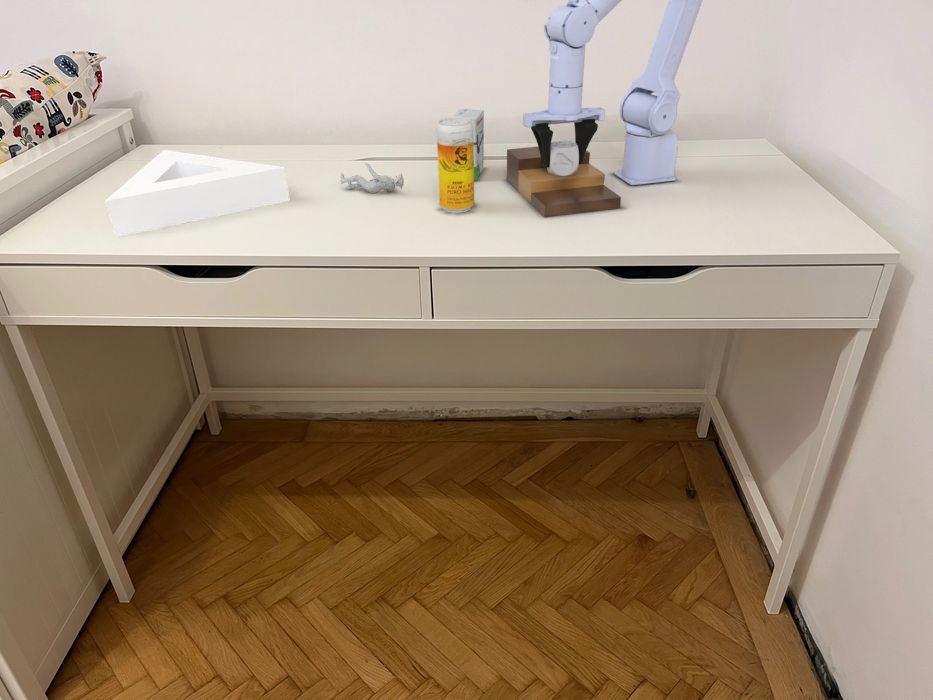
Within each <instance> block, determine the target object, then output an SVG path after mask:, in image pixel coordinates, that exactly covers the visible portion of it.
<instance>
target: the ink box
mask: <svg viewBox="0 0 933 700" xmlns="http://www.w3.org/2000/svg"><path fill="white" fill-rule="evenodd" d="M484 111H485V110H483V109H471V108H459V109H458V110H457V111H456V112H455V114H453V115H452V117H463V118H468V119H470V120H471V124H472V126H473V148H474V181H477V180H478V179H479V177H480V175H481V174H482V172H483V170H484V165H485V164H484V163H485V162H484V161H485V160H484V156H485V155H484V154H485V153H484V147H485V145H484V144H485V143H484V141H485V140H484V139H485V136H484V133H485V132H484V131H485V130H484V129H485V127H484V126H485V112H484Z"/></svg>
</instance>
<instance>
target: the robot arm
mask: <svg viewBox="0 0 933 700" xmlns="http://www.w3.org/2000/svg"><path fill="white" fill-rule="evenodd" d="M622 1H623V0H567V3H566V5H561V6H557V7H555V8H554V9H553V10H552V11H551V13H550V14H549V16H548V18H547V21H546V24H544V25H543V32H544V36H545V38H546V39H547V40H548V43H549V47H548V48H549V50H548V51H549V52H550V53H549V77H548V78H549V79H548V99H547V100H548V103H547V109H544V110H539V111H533V112H527V113H523V114H522V126H523V127H525V128H527V129H528V128H530V129H531V133H532V134H533V136H534V138H535V141H536V143H537V147H539V151H540V155H541V162H542V165H543V166H544V167H546V168H547V167H549V165H550V147H551V143H552V140H553V135H554V131H553V130H552V129H551V126H549V125H560V124H561V125H562V124H571V123H572V124H574V143H576V144H577V145H578V150H579V164H582V162H583V159H584V155H585V152H586V150H587V149H588V148H589V145H590V143H591V141H592V139H593V137H594V136H595V134H596V133H597V131H598V128H599V124H598V123H597V122H605V118H606V109H605V108H603V107H601V106H599V107H582V106H583V105H582V104H583V92H584V91H583V90H584V89H583V88H584V74H585V73H584V72H585V60H586V59H585V58H586V57H585V56H586V44H588V43H590V42H591V40H592V39H593V37H594V34H595V30H596V27H597V26H598V25H599V23H600V22H601V21H602V20H603V19H604V18H605V17H606V16H608V14H609V13H611V12H612V11H613V9H615V8H616V7H617V6H618V5H619V4H620V3H621V2H622ZM703 1H704V0H668V3H667V5H666V8H665V11H664V14H663V17H662V20H661V23H660V25H659V29H658V32H657V35H656V37H655V41H654V43H653V46H652V49H651V52H650V55H649V58H648V61H647V64H646V67H645V69H644V72H643V73H642V74H640V75H639V76H638V77H637V78H636V79H634V80H633V81H632V82H631V85H630V88H629V90H628V91H627V93H626V95H625V96H624V97H623V98H622V100H621V102H620V106H619V117H620V119H621V120H622V122H623V123H624V129H625V140H624V149H623V159H622V167H621V168H622V169H621V170H613V175H614V176H616V177H618V178H619V179H621V180H622V181H624V182H625V183H627V184H629V185H630V186H639V185H648V184H657V183H666V182H673V181H674V182H675V181H676V179H677V178H676V177H675V172H676V164H677V157H678V151H679V140H678V136H677V133H675V131H674V130H673V129H672V128H673V126H674V124H675V123H676V120H677V117H678V106H679V101H680V98H681V93H680V90H679V89H678V87H677V85H676V83H675V79H676V76H677V74H678V70H679V67H680V65H681V63H682V59H683V57H684V54H685V51H686V48H687V45H688V42H689V40H690V38H691V35H692V31H693V29H694V26H695V23H696V21H697V17H698V14H699V12H700V9H701V6H702V3H703ZM653 93H655V94H656V95H655V94H653ZM596 121H597V122H596ZM587 151H588V150H587Z"/></svg>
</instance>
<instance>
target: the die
mask: <svg viewBox="0 0 933 700" xmlns="http://www.w3.org/2000/svg"><path fill="white" fill-rule="evenodd" d="M578 164H579V150H578V145H577V144H576V143H575V141H568V140H557V141H551V147H550V165H549V167H547V170H548V173H550V174H551V175H555V176H570V175H573V174H575V173H576V172H577V170H578Z"/></svg>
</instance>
